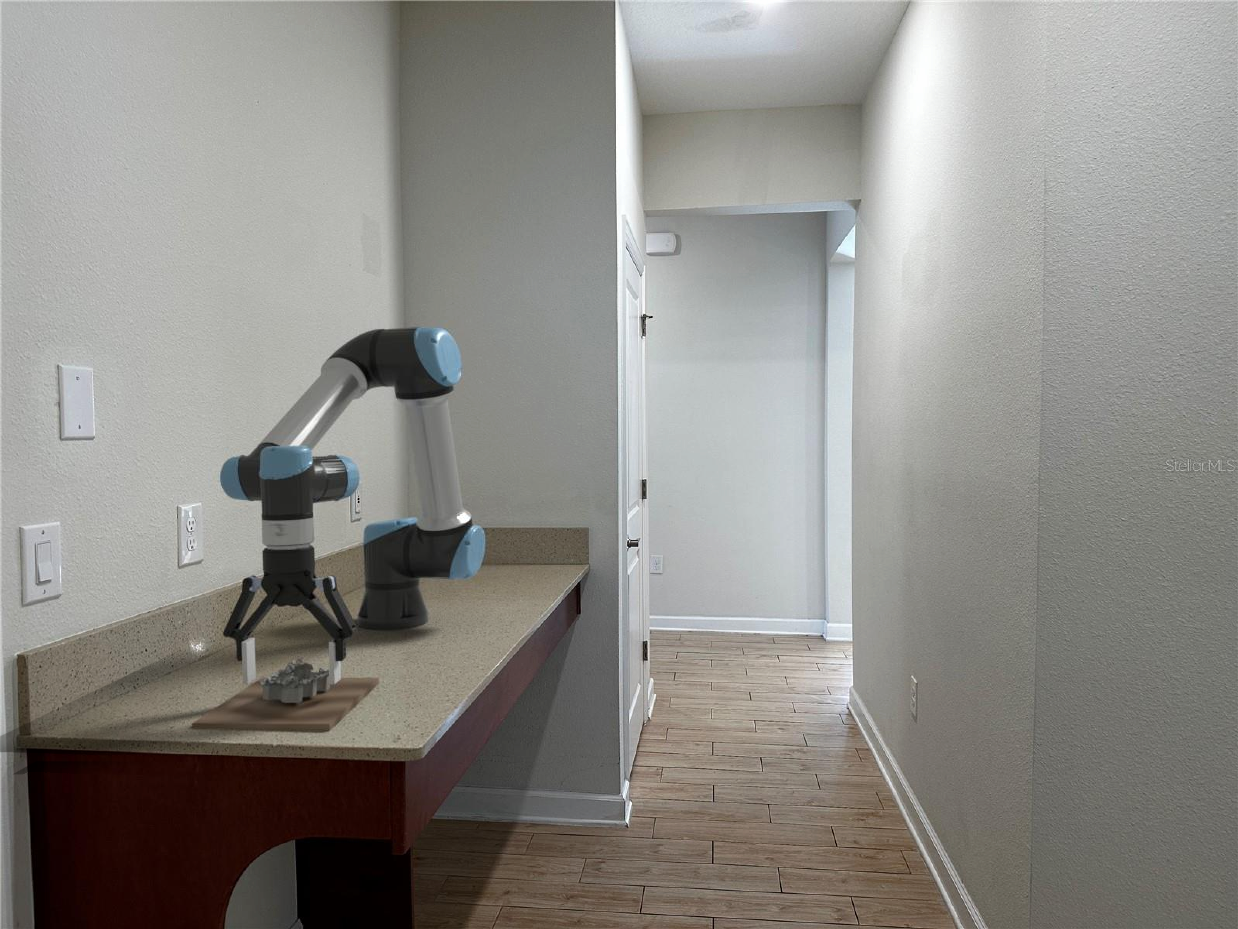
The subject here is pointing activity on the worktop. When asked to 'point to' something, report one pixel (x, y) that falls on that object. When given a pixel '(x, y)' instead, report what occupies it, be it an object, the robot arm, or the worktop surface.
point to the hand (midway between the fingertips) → (292, 681)
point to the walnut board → (288, 708)
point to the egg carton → (295, 682)
